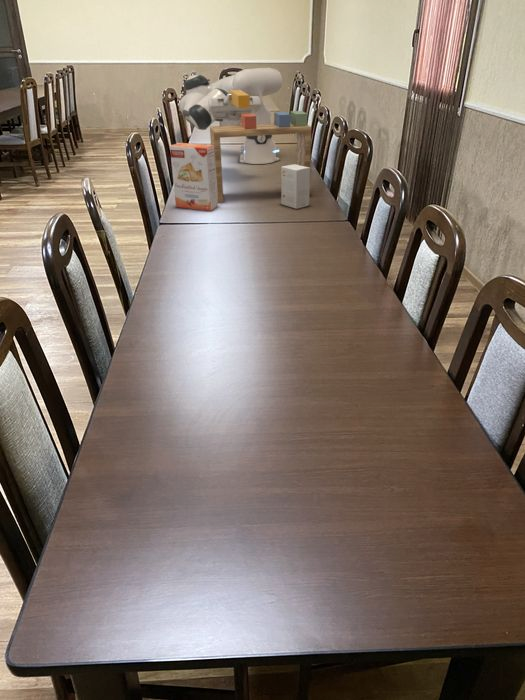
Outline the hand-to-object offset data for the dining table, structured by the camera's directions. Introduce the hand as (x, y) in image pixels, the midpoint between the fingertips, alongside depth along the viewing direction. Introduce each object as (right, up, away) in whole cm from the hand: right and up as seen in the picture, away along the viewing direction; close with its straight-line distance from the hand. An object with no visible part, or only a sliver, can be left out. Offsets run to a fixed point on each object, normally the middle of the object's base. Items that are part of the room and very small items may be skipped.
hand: (236, 95), depth 200 cm
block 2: (+17, -15, -10) cm, 25 cm away
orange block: (+1, -5, -4) cm, 7 cm away
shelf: (+9, -37, +1) cm, 38 cm away
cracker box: (-13, -45, -11) cm, 48 cm away
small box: (+21, -44, -11) cm, 50 cm away
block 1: (+5, -17, -12) cm, 21 cm away
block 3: (+22, -15, -9) cm, 28 cm away
